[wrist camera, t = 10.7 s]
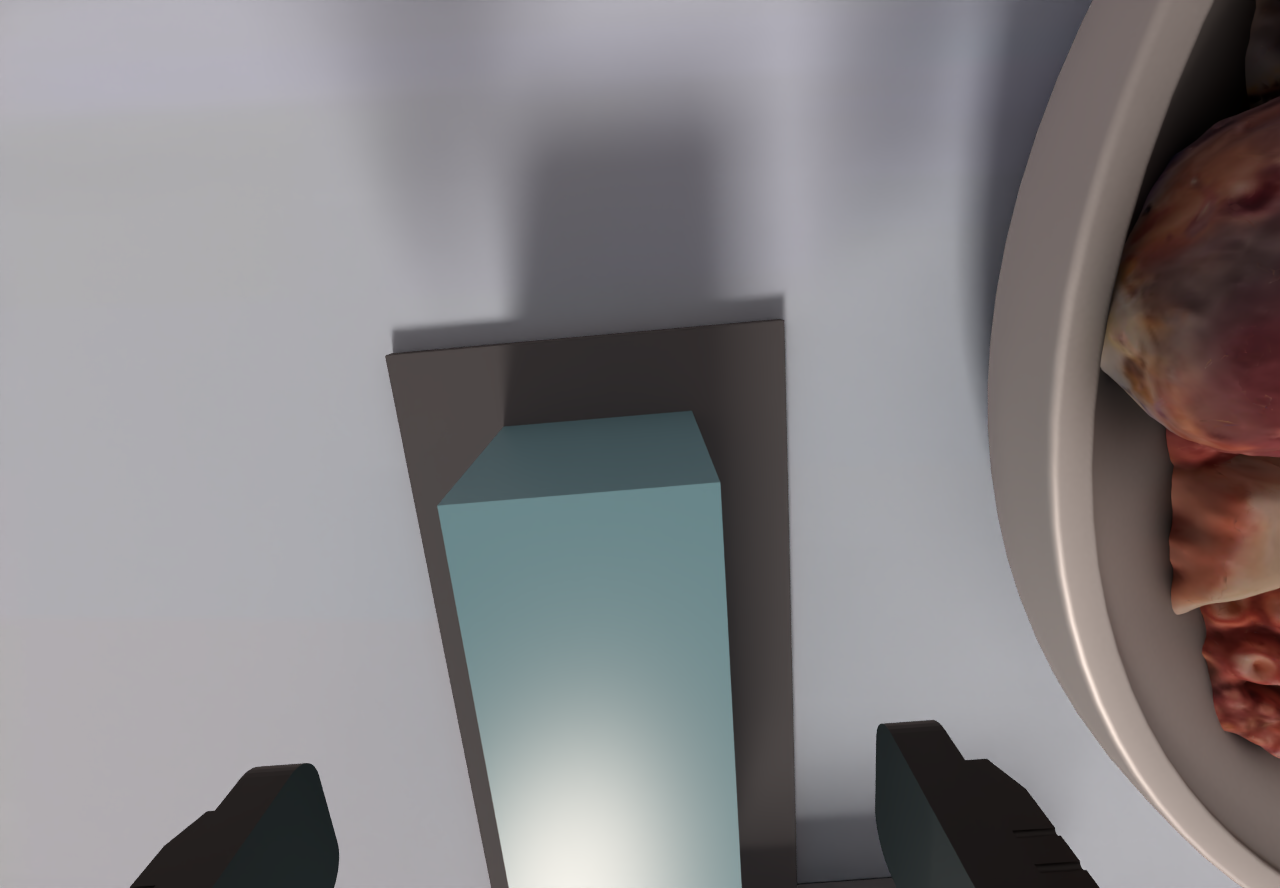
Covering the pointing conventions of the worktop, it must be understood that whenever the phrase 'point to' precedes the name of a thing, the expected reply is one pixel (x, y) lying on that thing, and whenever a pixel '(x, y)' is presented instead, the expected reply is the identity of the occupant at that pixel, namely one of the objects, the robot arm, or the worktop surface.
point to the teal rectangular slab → (600, 651)
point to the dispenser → (854, 884)
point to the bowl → (1154, 408)
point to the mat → (751, 515)
